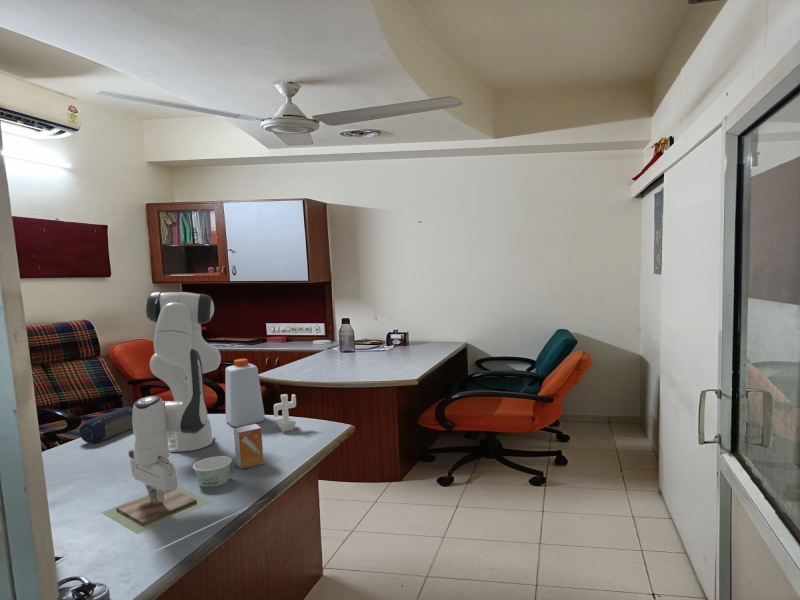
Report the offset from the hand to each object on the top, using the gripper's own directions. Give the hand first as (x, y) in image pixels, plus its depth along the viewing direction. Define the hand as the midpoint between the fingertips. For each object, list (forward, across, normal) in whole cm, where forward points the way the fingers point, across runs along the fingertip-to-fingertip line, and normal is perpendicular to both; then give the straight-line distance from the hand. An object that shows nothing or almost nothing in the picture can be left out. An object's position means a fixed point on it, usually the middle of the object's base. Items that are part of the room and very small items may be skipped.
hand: (156, 499), depth 156 cm
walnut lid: (+2, 0, 0) cm, 2 cm away
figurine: (+3, +24, -68) cm, 72 cm away
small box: (+3, +5, -36) cm, 36 cm away
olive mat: (+3, 0, 0) cm, 3 cm away
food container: (+3, +2, -20) cm, 20 cm away
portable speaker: (+3, +86, -24) cm, 89 cm away
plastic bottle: (+3, +50, -66) cm, 83 cm away
